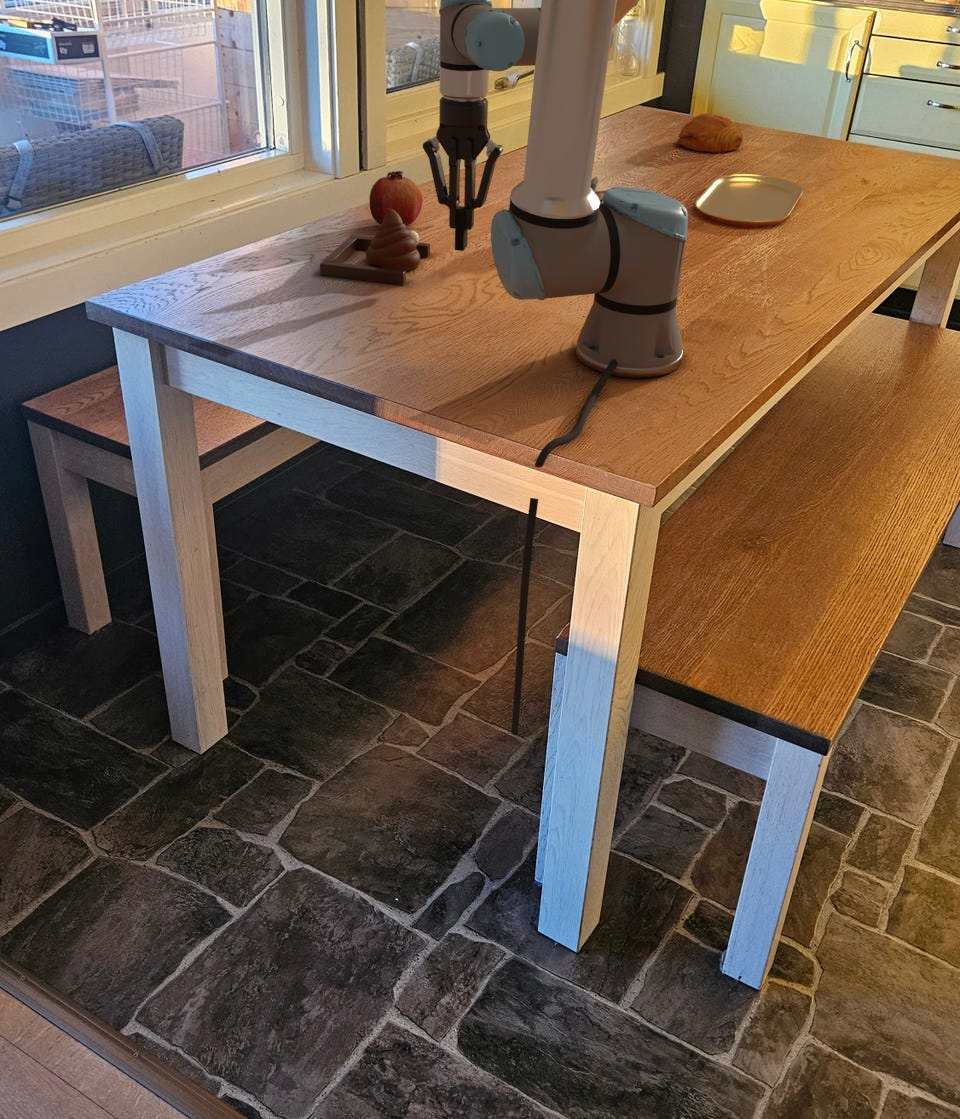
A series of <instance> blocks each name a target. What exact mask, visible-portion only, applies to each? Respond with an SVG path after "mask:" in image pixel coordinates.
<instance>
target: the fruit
mask: <svg viewBox="0 0 960 1119" xmlns="http://www.w3.org/2000/svg"><path fill="white" fill-rule="evenodd" d="M404 173H405V172H404V171H401V170H398V171H388V173H387V174H386V176H383V177H380V178H379V179H378V180H376V181H375V182H374V184H373V185H372V187H371V189H370V192H369V211H370V214H371V217H372V218H373V219H374V221H375V222H376V223H377V224H379V225H381V224H382V223H383V219H384V217H385V215H386V209H387V208H390V209H393V210H395V211H396V212H397V213H398V214H399V216H400V217H401V219H402V222H403V224H405V226H406V227H407V226H408V227H409V225H412V224H413V223H415V221H416V220H417V219H418V217H419V215H420V213H421V211H422V207H423V202H424V200H423V194H422V192H421V189H420V188H419V187H418V186H417V184H416V183H415V182H414V181H413V180H411V179H410V178H408V177H407V176H406V177H405V176H403V174H404Z"/></svg>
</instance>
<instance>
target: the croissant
mask: <svg viewBox="0 0 960 1119" xmlns="http://www.w3.org/2000/svg"><path fill="white" fill-rule="evenodd" d="M677 141H678V144H679V146H682V147H683V148H686V149H691V150H694V151H697V152H708V153H718V154H720V153H726V152H733V151H734V150H738V149H739V148H740V147H741V145H742V144H743V134H742V131H741V128H740V126H739V125H738V123H736V122H733V121H732V120H731V119H730V118H728V117H725V116H722V115H716V114H710V113H707V112H706V113H702V114H701V113H700V114H698V115H696V116H695V117H693V118H692V119H691V120H688V121H686V123H685V124H684V125H683V126H682V127H681V130H680V132H679V135H678V140H677Z"/></svg>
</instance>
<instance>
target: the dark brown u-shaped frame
mask: <svg viewBox="0 0 960 1119" xmlns="http://www.w3.org/2000/svg"><path fill="white" fill-rule="evenodd" d="M373 237H374V236H367V235H357V234H351V235H350V236H349V237H348V238H347V239H345V240H344V241H343V242H342V243H341V244H340V245H339V246H337V248H335V249H334V250H333V251H332V252H331V253H330V254H329V255H327V257H325V258H324V259H323V260H322V261H321V262H320V263H319V274H320V276H323V277H324V276H325V277H331V278H341V279H349V280H357V281H364V282H373V283H374V282H375V283H383V284H389V285H398V286H404V285H405V284H406V282H407V271H403V270H394V269H386V268H382V267H379V266H378V267H377V266H367V265H360V264H352V263H344V262H346V260H348V259H349V258H350V257H351V256H352V255H353V254H354V253H355V252H356V251H357V250H361V251H367V249H368V247H369V246H370V245H371V240H372V238H373ZM416 249H417V251H418V252H419V255H420V258H421V257H423V258H429V257H430V255H431V243H427V242H420V241H419V242H418V244H417V245H416Z"/></svg>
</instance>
